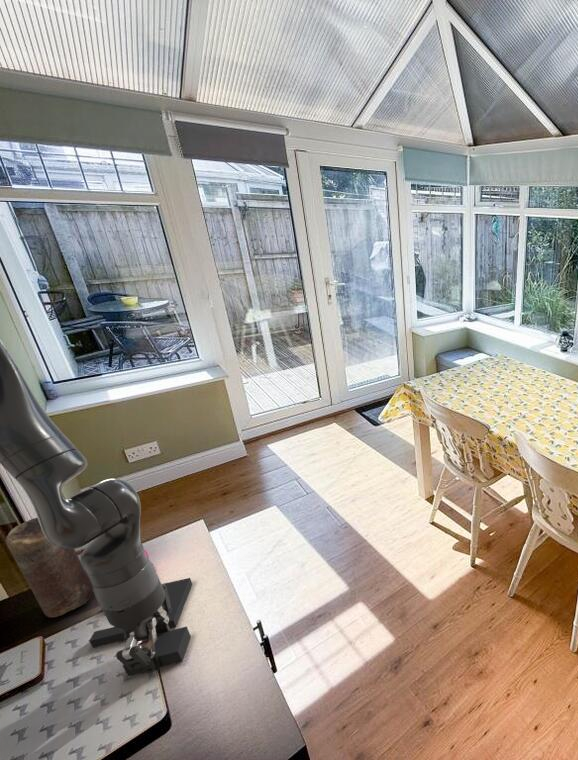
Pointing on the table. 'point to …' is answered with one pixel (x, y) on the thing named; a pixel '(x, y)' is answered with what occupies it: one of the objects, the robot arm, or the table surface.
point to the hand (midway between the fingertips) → (160, 653)
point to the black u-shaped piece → (177, 598)
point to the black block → (167, 648)
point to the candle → (49, 570)
